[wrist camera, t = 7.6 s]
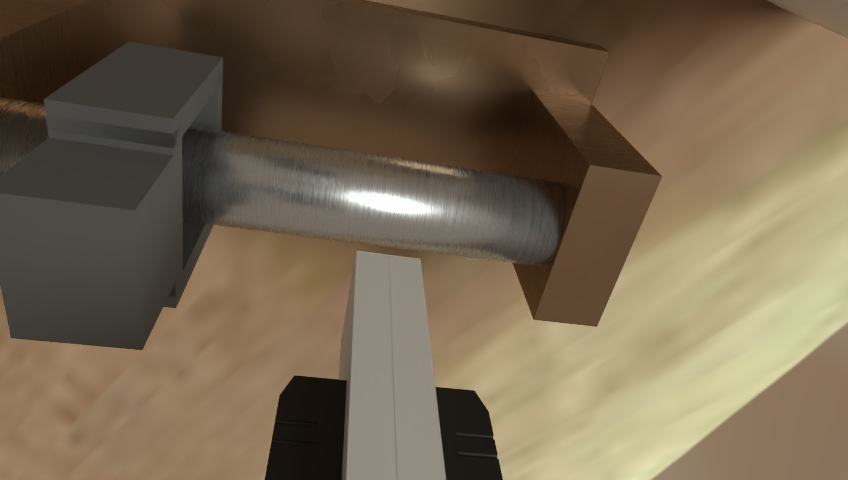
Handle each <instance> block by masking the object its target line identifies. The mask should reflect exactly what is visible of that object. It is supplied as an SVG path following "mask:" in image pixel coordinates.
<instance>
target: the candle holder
mask: <svg viewBox="0 0 848 480" xmlns="http://www.w3.org/2000/svg"><path fill="white" fill-rule="evenodd" d="M767 1H769V2H770V3H772V4H774V5H776V6H778V7H780V8H782V9H784V10H786V11H788V12H790V13H792V14H794V15H797V16H799V17H801V18H803V19H805V20H808V21H810V22H812V23H814V24H817V25H819V26H821V27H823V28H826V29H828V30H830V31H832V32H835V33H837V34H839V35H841V36H844V37H846V38H848V0H767Z"/></svg>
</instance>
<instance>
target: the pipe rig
mask: <svg viewBox="0 0 848 480" xmlns="http://www.w3.org/2000/svg"><path fill="white" fill-rule="evenodd" d="M129 41H130V42H135V43H141V44H147V45H153V46H159V47H164V48H170V49H176V50H182V51H188V52H194V53H199V54H205V55H211V56H217V57H223V84H222V121H221V131H219V130H213V129H206V128H200V127H193V126H189V128H188V129H187V131H186V132H185V133H184V135H183V136H182V214H183V221H187V222H195V223H203V224H211V225H219V226H227V227H235V228H243V229H251V230H258V231H266V232H274V233H282V234H290V235H298V236H306V237H314V238H322V239H329V240H337V241H345V242H353V243H361V244H369V245H377V246H385V247H393V248H400V249H408V250H416V251H424V252H432V253H440V254H448V255H456V256H464V257H471V258H479V259H487V260H495V261H503V262H511V263H513V265H514V268H515V271H516V273H517V276H518V279H519V282H520V284H521V287H522V290H523V292H524V295H525V298H526V300H527V303H528V306H529V309H530V311H531V314H532V317H533V319H534V320H542V321H551V322H560V323H569V324H578V325H587V326H596V327H597V325H598V323H599V320H600V318H601V316H602V314H603V311H604V309H605V307H606V304H607V302H608V300H609V297H610V295H611V293H612V291H613V288H614V286H615V284H616V281H617V279H618V277H619V274H620V272H621V270H622V268H623V265H624V263H625V261H626V258H627V256H628V254H629V251H630V249H631V247H632V245H633V242H634V240H635V238H636V235H637V233H638V231H639V228H640V226H641V224H642V221H643V219H644V217H645V215H646V212H647V210H648V208H649V205H650V203H651V201H652V198H653V196H654V194H655V192H656V189H657V187H658V185H659V182H660V180H661V178H662V176H661V175H660V174H659V173H658V172H657V171H656V170H655V169H654V168H653V167H652V166H651V165H650V163H649V162H648V161H647V160H646V159H645V158H644V157H643V156H642V155H641V154H640V153H639V152H638V151H637V150H636V149H635V148H634V147H633V146H632V145H631V144H630V143H629V142H628V141H627V140H626V139H625V138H624V137H623V136H622V135H621V134H620V133H619V132H618V131H617V130H616V129H615V128H614V127H613V126H612V125H611V124H610V123H609V121H608V120H607V119H606V118H605V117H604V116H603V115H602V114H601V113H600V112H599V111H598V110H597V109H596V108H595V107H594V106H593V105H592V102H593V99H594V96H595V93H596V90H597V88H598V85H599V82H600V79H601V76H602V73H603V70H604V67H605V65H606V62H607V59H608V56H609V53H610V52H609V51H607V50H606V49H605V48H603V47H602V46H598V45H592V44H587V43H582V42H577V41H572V40H567V39H561V38H556V37H551V36H546V35H541V34H536V33H531V32H525V31H520V30H515V29H510V28H505V27H500V26H495V25H489V24H484V23H479V22H474V21H469V20H464V19H459V18H453V17H448V16H443V15H438V14H433V13H428V12H422V11H417V10H412V9H407V8H402V7H397V6H392V5H386V4H381V3H376V2H371V1H366V0H0V176H2V175H3V174H4V173H5V172H6V171H8V170H9V169H10V168H11V167H13V166H14V165H15V164H16V163H18V162H19V161H20V160H21V159H23V158H24V157H25V156H26V155H28V154H29V153H30V152H31V151H32V150H34V149H35V148H36V147H37V146H39V145H40V144H41V143H42V142H44V141H45V140H46V139H47V138H49V137H48V129H47V121H46V113H45V105H44V99H45V98H46V97H48V96H49V95H51V94H52V93H53V92H55V91H56V90H58V89H59V88H61V87H62V86H64V85H65V84H67V83H68V82H70V81H71V80H73V79H74V78H76V77H77V76H78V75H80V74H81V73H83V72H84V71H86V70H87V69H89V68H90V67H92V66H93V65H95V64H96V63H98V62H99V61H101V60H102V59H104V58H105V57H106V56H108V55H109V54H111V53H112V52H114V51H115V50H117V49H118V48H120V47H121V46H123V45H124V44H126V43H127V42H129Z"/></svg>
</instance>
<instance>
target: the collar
mask: <svg viewBox="0 0 848 480" xmlns="http://www.w3.org/2000/svg"><path fill="white" fill-rule="evenodd" d="M222 84H223V57H217V56H211V55H205V54H199V53H194V52H188V51H182V50H176V49H170V48H164V47H159V46H153V45H147V44H141V43H135V42H130V41H129V42H127V43H126V44H124V45H123V46H121V47H120V48H118V49H117V50H115V51H114V52H112V53H111V54H109V55H108V56H106V57H105V58H104V59H102V60H101V61H99V62H98V63H96V64H95V65H93V66H92V67H90V68H89V69H87V70H86V71H84V72H83V73H81V74H80V75H78V76H77V77H76V78H74V79H73V80H71V81H70V82H68V83H67V84H65V85H64V86H62V87H61V88H59V89H58V90H56V91H55V92H53V93H52V94H51V95H49V96H48V97H46V98H45V99H44V105H45V113H46V121H47V129H48V137H49V138H47V139H46V140H45V141H44V142H42V143H41V144H40V145H39V146H37V147H36V148H35V149H34V150H32V151H31V152H30V153H29V154H28V155H26V156H25V157H24V158H23V159H21V160H20V161H19V162H18V163H16V164H15V165H14V166H13V167H11V168H10V169H9V170H8V171H6V172H5V173H4V174H3V175H2V176H0V284H1V289H2V294H3V299H4V304H5V310H6V315H7V320H8V325H9V330H10V335H11V338H16V339H27V340H38V341H49V342H60V343H71V344H82V345H93V346H104V347H115V348H125V349H136V350H142V349H143V347H144V345H145V343H146V341H147V339H148V337H149V335H150V333H151V331H152V329H153V327H154V325H155V323H156V320H157V318H158V316H159V314H160V312H161V310H162V308H163V307H171V308H176V307H177V305H178V302H179V300H180V298H181V296H182V294H183V291H184V289H185V287H186V285H187V282H188V280H189V278H190V276H191V274H192V271H193V269H194V267H195V265H196V262H197V260H198V258H199V256H200V254H201V251H202V249H203V247H204V245H205V243H206V240H207V238H208V236H209V234H210V231H211V229H212V227H213V225H211V224H203V223H195V222H187V221H183V214H182V136H183V135H184V133H185V132H186V131H187V129H188V128H189V126H193V127H200V128H206V129H213V130H219V131H221V121H222Z"/></svg>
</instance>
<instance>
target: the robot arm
mask: <svg viewBox="0 0 848 480" xmlns="http://www.w3.org/2000/svg"><path fill="white" fill-rule="evenodd" d="M265 480H503V479H502V474H501V469H500V464H499V459H497V450H496V445H495V440H493V431H492V426H491V421H490V416H489V412H488V410H487V409H486V407H485V406H484V404H483V403H482V401H481V400H480V398H479V397H478V395H477V394H476V392H475V391H473V390H462V389H451V388H440V387H435V380H434V371H433V363H432V354H431V345H430V337H429V328H428V320H427V311H426V302H425V294H424V285H423V277H422V268H421V260H420V259H419V258H411V257H403V256H395V255H387V254H380V253H372V252H364V251H356V256H355V262H354V268H353V274H352V280H351V286H350V292H349V298H348V303H347V309H346V315H345V321H344V327H343V333H342V339H341V352H340V367H339V380H337V379H326V378H316V377H305V376H294V377H293V378H292V380H291V381H290V382H289V384H288V385H287V386H286V388H285V389H284V390H283V392H282V393H281V394H280V397H279V402H278V408H277V414H276V419H275V425H274V431H273V436H272V443H271V448H270V453H269V459H268V465H267V470H266V476H265Z"/></svg>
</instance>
